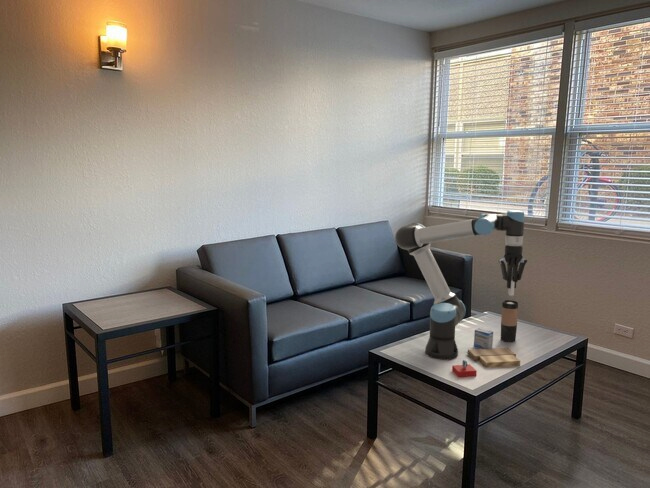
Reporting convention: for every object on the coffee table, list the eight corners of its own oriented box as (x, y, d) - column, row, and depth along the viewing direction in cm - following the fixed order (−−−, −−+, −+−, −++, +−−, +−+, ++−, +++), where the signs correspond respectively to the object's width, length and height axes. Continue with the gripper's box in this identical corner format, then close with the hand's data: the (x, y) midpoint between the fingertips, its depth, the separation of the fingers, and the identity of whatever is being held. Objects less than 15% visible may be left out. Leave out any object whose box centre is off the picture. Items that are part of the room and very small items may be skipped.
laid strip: (474, 361, 234) (474, 356, 234) (467, 354, 242) (467, 349, 241) (515, 358, 236) (516, 353, 236) (507, 352, 244) (507, 347, 244)
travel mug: (518, 342, 257) (520, 304, 253) (502, 342, 257) (505, 304, 253) (512, 337, 264) (515, 300, 261) (498, 337, 264) (500, 300, 261)
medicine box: (473, 346, 252) (474, 330, 250) (477, 344, 255) (478, 327, 253) (488, 350, 246) (489, 333, 245) (492, 348, 249) (493, 331, 248)
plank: (485, 367, 227) (486, 362, 226) (479, 361, 234) (479, 356, 233) (519, 365, 229) (520, 360, 228) (512, 359, 236) (512, 354, 235)
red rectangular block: (469, 370, 225) (470, 356, 224) (476, 376, 218) (476, 362, 217) (452, 371, 224) (452, 357, 222) (458, 378, 217) (459, 364, 216)
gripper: (504, 246, 227) (501, 297, 231) (531, 245, 229) (528, 296, 233) (496, 243, 234) (493, 293, 238) (523, 242, 236) (520, 292, 240)
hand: (510, 294), depth 235 cm, fingers closed
